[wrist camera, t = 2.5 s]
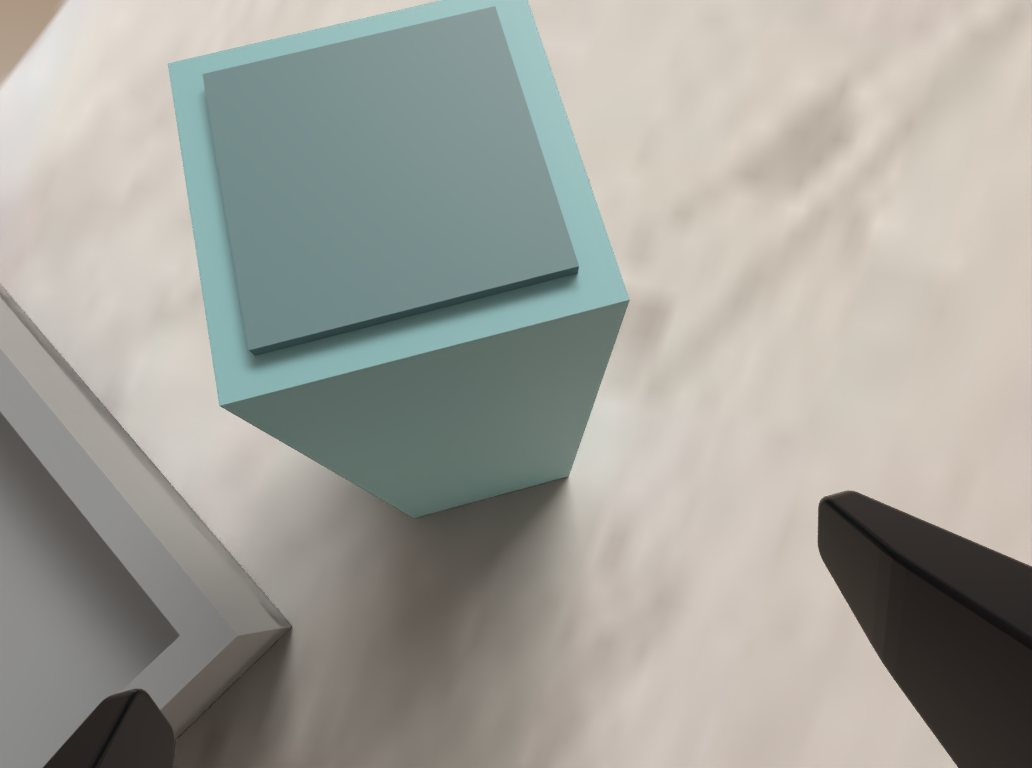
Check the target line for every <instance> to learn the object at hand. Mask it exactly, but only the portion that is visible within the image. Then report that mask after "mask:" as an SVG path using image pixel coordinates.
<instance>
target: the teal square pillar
mask: <svg viewBox="0 0 1032 768" xmlns="http://www.w3.org/2000/svg"><path fill="white" fill-rule="evenodd" d="M168 68H169V74H170V81H171V87H172V94H173V101H174V107H175V114H176V121H177V127H178V134H179V141H180V147H181V154H182V160H183V167H184V174H185V180H186V187H187V194H188V200H189V207H190V214H191V220H192V227H193V233H194V240H195V247H196V253H197V260H198V267H199V273H200V280H201V287H202V293H203V300H204V307H205V313H206V320H207V326H208V333H209V340H210V346H211V353H212V360H213V366H214V373H215V380H216V386H217V393H218V399H219V406H221V407H222V408H224V409H226V410H228V411H229V412H231V413H233V414H234V415H236V416H238V417H240V418H241V419H243V420H245V421H247V422H248V423H250V424H252V425H253V426H255V427H257V428H259V429H260V430H262V431H264V432H266V433H267V434H269V435H271V436H272V437H274V438H276V439H278V440H279V441H281V442H283V443H285V444H286V445H288V446H290V447H292V448H293V449H295V450H297V451H298V452H300V453H302V454H304V455H305V456H307V457H309V458H311V459H312V460H314V461H316V462H317V463H319V464H321V465H323V466H324V467H326V468H328V469H330V470H331V471H333V472H335V473H336V474H338V475H340V476H342V477H343V478H345V479H347V480H349V481H350V482H352V483H354V484H355V485H357V486H359V487H361V488H362V489H364V490H366V491H368V492H369V493H371V494H373V495H374V496H376V497H378V498H380V499H381V500H383V501H385V502H387V503H388V504H390V505H392V506H393V507H395V508H397V509H399V510H400V511H402V512H404V513H406V514H407V515H409V516H411V517H412V518H417V517H421V516H424V515H428V514H432V513H435V512H439V511H443V510H446V509H450V508H454V507H457V506H461V505H465V504H468V503H472V502H476V501H480V500H483V499H487V498H491V497H494V496H498V495H502V494H505V493H509V492H513V491H516V490H520V489H524V488H527V487H531V486H535V485H538V484H542V483H546V482H550V481H553V480H557V479H561V478H564V477H568V476H569V474H570V471H571V468H572V465H573V462H574V459H575V457H576V454H577V451H578V448H579V445H580V442H581V439H582V436H583V433H584V431H585V428H586V425H587V422H588V419H589V416H590V413H591V410H592V407H593V404H594V402H595V399H596V396H597V393H598V390H599V387H600V384H601V381H602V378H603V375H604V373H605V370H606V367H607V364H608V361H609V358H610V355H611V352H612V349H613V346H614V344H615V341H616V338H617V335H618V332H619V329H620V326H621V323H622V320H623V317H624V315H625V312H626V309H627V306H628V303H629V300H630V299H629V297H628V294H627V291H626V288H625V285H624V282H623V279H622V276H621V273H620V270H619V267H618V264H617V261H616V258H615V255H614V252H613V250H612V247H611V244H610V241H609V238H608V235H607V232H606V229H605V226H604V223H603V220H602V217H601V214H600V211H599V208H598V205H597V202H596V200H595V197H594V194H593V191H592V188H591V185H590V182H589V179H588V176H587V173H586V170H585V167H584V164H583V161H582V158H581V155H580V153H579V150H578V147H577V144H576V141H575V138H574V135H573V132H572V129H571V126H570V123H569V120H568V117H567V114H566V111H565V108H564V106H563V103H562V100H561V97H560V94H559V91H558V88H557V85H556V82H555V79H554V76H553V73H552V70H551V67H550V64H549V61H548V59H547V56H546V53H545V50H544V47H543V44H542V41H541V38H540V35H539V32H538V29H537V26H536V23H535V20H534V17H533V14H532V11H531V9H530V6H529V3H528V0H441V1H437V2H432V3H428V4H424V5H419V6H415V7H411V8H406V9H402V10H398V11H393V12H389V13H385V14H380V15H376V16H372V17H367V18H363V19H359V20H354V21H350V22H346V23H341V24H337V25H333V26H328V27H324V28H320V29H315V30H311V31H307V32H302V33H298V34H294V35H289V36H285V37H281V38H276V39H272V40H268V41H263V42H259V43H255V44H250V45H246V46H242V47H237V48H233V49H229V50H224V51H220V52H216V53H211V54H207V55H203V56H198V57H194V58H190V59H185V60H181V61H177V62H172V63H168Z"/></svg>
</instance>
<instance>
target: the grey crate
mask: <svg viewBox="0 0 1032 768" xmlns="http://www.w3.org/2000/svg"><path fill="white" fill-rule="evenodd" d="M291 627H292V626H291V624H290V623H289V622H288V621H287V620H286V619H285V617H284V616H283V615H282V614H281V613H280V611H279V610H278V609H277V608H276V607H275V606H274V604H273V603H272V602H271V601H270V600H269V599H268V597H267V596H266V595H265V594H264V593H263V592H262V590H261V589H260V588H259V587H258V586H257V584H256V583H255V582H254V581H253V580H252V579H251V577H250V576H249V575H248V574H247V573H246V572H245V570H244V569H243V568H242V567H241V566H240V565H239V563H238V562H237V561H236V560H235V559H234V558H233V556H232V555H231V554H230V553H229V552H228V550H227V549H226V548H225V547H224V546H223V545H222V543H221V542H220V541H219V540H218V539H217V538H216V536H215V535H214V534H213V533H212V532H211V531H210V529H209V528H208V527H207V526H206V525H205V523H204V522H203V521H202V520H201V519H200V518H199V516H198V515H197V514H196V513H195V512H194V511H193V509H192V508H191V507H190V506H189V505H188V504H187V502H186V501H185V500H184V499H183V498H182V496H181V495H180V494H179V493H178V492H177V491H176V489H175V488H174V487H173V486H172V485H171V484H170V482H169V481H168V480H167V479H166V478H165V477H164V475H163V474H162V473H161V472H160V471H159V469H158V468H157V467H156V466H155V465H154V464H153V462H152V461H151V460H150V459H149V458H148V457H147V455H146V454H145V453H144V452H143V451H142V450H141V448H140V447H139V446H138V445H137V444H136V442H135V441H134V440H133V439H132V438H131V437H130V435H129V434H128V433H127V432H126V431H125V430H124V428H123V427H122V426H121V425H120V424H119V423H118V421H117V420H116V419H115V418H114V417H113V416H112V414H111V413H110V412H109V411H108V410H107V408H106V407H105V406H104V405H103V404H102V403H101V401H100V400H99V399H98V398H97V397H96V396H95V394H94V393H93V392H92V391H91V390H90V389H89V387H88V386H87V385H86V384H85V383H84V381H83V380H82V379H81V378H80V377H79V376H78V374H77V373H76V372H75V371H74V370H73V369H72V367H71V366H70V365H69V364H68V363H67V362H66V360H65V359H64V358H63V357H62V356H61V354H60V353H59V352H58V351H57V350H56V349H55V347H54V346H53V345H52V344H51V343H50V342H49V340H48V339H47V338H46V337H45V336H44V335H43V333H42V332H41V331H40V330H39V329H38V327H37V326H36V325H35V324H34V323H33V322H32V320H31V319H30V318H29V317H28V316H27V315H26V313H25V312H24V311H23V310H22V309H21V308H20V306H19V305H18V304H17V303H16V302H15V300H14V299H13V298H12V297H11V296H10V295H9V293H8V292H7V291H6V290H5V289H4V288H3V286H2V285H1V284H0V768H43V766H44V765H45V764H46V763H47V762H48V761H49V760H50V759H51V757H52V756H53V755H54V754H55V753H56V752H57V751H58V750H59V749H60V747H61V746H62V745H63V744H64V743H65V742H66V741H67V740H68V738H69V737H70V736H71V735H72V734H73V733H74V732H75V731H76V730H77V728H78V727H79V726H80V725H81V724H82V723H83V722H84V721H85V719H86V718H87V717H88V716H89V715H90V714H91V713H92V712H93V711H94V709H95V708H96V707H97V706H98V705H99V704H100V703H101V702H102V701H103V700H104V699H105V698H107V697H109V696H111V695H114V694H117V693H121V692H124V691H128V690H131V689H135V688H141V689H143V690H145V691H146V692H147V693H148V694H149V695H150V697H151V698H152V699H153V701H154V702H155V704H156V705H157V706H158V708H159V709H160V711H161V712H162V713H163V715H164V716H165V717H166V719H167V720H168V722H169V723H170V725H171V727H172V729H173V732H174V737H175V740H176V739H177V738H178V737H179V736H180V735H181V734H182V733H183V732H184V731H185V730H186V729H188V728H189V727H190V726H191V725H192V724H193V723H194V722H195V721H196V720H197V719H198V718H199V717H200V716H201V715H202V714H203V713H204V712H205V711H206V710H207V709H208V708H209V707H210V706H211V705H212V704H213V703H214V702H215V701H216V700H217V699H218V698H219V697H220V696H221V695H222V694H223V693H224V692H225V691H226V690H228V689H229V688H230V687H231V686H232V685H233V684H234V683H235V682H236V681H237V680H238V679H239V678H240V677H241V676H242V675H243V674H244V673H245V672H246V671H247V670H248V669H249V668H250V667H251V666H252V665H253V664H254V663H255V662H256V661H257V660H258V659H259V658H260V657H261V656H262V655H263V654H264V653H265V652H266V651H268V650H269V649H270V648H271V647H272V646H273V645H274V644H275V643H276V642H277V641H278V640H279V639H280V638H281V637H282V636H283V635H284V634H285V633H286V632H287V631H288V630H289V629H290V628H291Z"/></svg>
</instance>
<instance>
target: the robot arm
mask: <svg viewBox="0 0 1032 768" xmlns="http://www.w3.org/2000/svg"><path fill="white" fill-rule="evenodd" d="M818 548H819V552H820V555H821V557H822V560H823V562H824V563H825V565H826V567H827V569H828V570H829V572H830V574H831V576H832V577H833V579H834V581H835V582H836V584H837V586H838V588H839V589H840V591H841V593H842V595H843V596H844V598H845V600H846V601H847V603H848V605H849V607H850V608H851V610H852V612H853V614H854V615H855V617H856V619H857V620H858V622H859V624H860V626H861V627H862V629H863V631H864V633H865V634H866V636H867V638H868V639H869V641H870V643H871V645H872V646H873V648H874V650H875V651H876V653H877V654H878V656H879V658H880V659H881V661H882V663H883V664H884V665H885V667H886V668H887V670H888V671H889V673H890V674H891V676H892V677H893V678H894V680H895V681H896V683H897V684H898V685H899V687H900V688H901V690H902V691H903V692H904V694H905V695H906V696H907V698H908V699H909V701H910V702H911V703H912V705H913V706H914V707H915V709H916V710H917V712H918V713H919V714H920V716H921V717H922V718H923V720H924V721H925V723H926V724H927V725H928V727H929V728H930V729H931V731H932V732H933V734H934V735H935V736H936V738H937V739H938V740H939V742H940V743H941V745H942V746H943V747H944V749H945V750H946V751H947V753H948V754H949V756H950V757H951V758H952V760H953V761H954V762H955V764H956V765H957V767H958V768H1032V566H1029V565H1027V564H1025V563H1022V562H1020V561H1018V560H1015V559H1013V558H1011V557H1008V556H1006V555H1003V554H1001V553H999V552H996V551H994V550H992V549H989V548H987V547H985V546H982V545H980V544H978V543H975V542H973V541H971V540H968V539H966V538H964V537H961V536H959V535H956V534H954V533H952V532H949V531H947V530H945V529H942V528H940V527H938V526H935V525H933V524H931V523H928V522H926V521H924V520H921V519H919V518H917V517H914V516H912V515H909V514H907V513H905V512H902V511H900V510H898V509H895V508H893V507H891V506H888V505H886V504H884V503H881V502H879V501H877V500H874V499H872V498H869V497H867V496H865V495H862V494H860V493H858V492H855V491H844V492H840V493H836V494H833V495H829V496H826V497H824V498H822V499H821V500H820V503H819V507H818ZM174 751H175V737H174V732H173V729H172V727H171V725H170V723H169V722H168V720H167V719H166V717H165V716H164V715H163V713H162V712H161V711H160V709H159V708H158V706H157V705H156V704H155V702H154V701H153V699H152V698H151V697H150V695H149V694H148V693H147V692H146V691H145V690H143V689H141V688H135V689H131V690H128V691H124V692H121V693H117V694H114V695H111V696H109V697H107V698H105V699H104V700H103V701H102V702H101V703H100V704H99V705H98V706H97V707H96V708H95V709H94V711H93V712H92V713H91V714H90V715H89V716H88V717H87V718H86V719H85V721H84V722H83V723H82V724H81V725H80V726H79V727H78V728H77V730H76V731H75V732H74V733H73V734H72V735H71V736H70V737H69V738H68V740H67V741H66V742H65V743H64V744H63V745H62V746H61V747H60V749H59V750H58V751H57V752H56V753H55V754H54V755H53V756H52V757H51V759H50V760H49V761H48V762H47V763H46V764H45V765H44V766H43V768H173V762H174Z"/></svg>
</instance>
